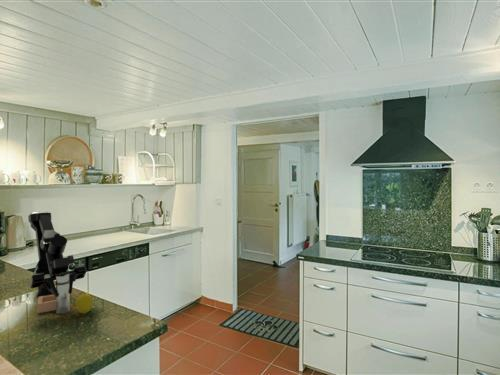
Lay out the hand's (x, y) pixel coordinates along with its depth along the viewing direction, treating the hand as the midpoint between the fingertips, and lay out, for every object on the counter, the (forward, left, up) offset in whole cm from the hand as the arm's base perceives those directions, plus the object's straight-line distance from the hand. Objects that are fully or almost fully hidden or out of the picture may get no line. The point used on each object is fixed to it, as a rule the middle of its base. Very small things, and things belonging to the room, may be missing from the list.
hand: (63, 294), depth 118 cm
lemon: (+6, +7, -7) cm, 11 cm away
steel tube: (-1, 0, -7) cm, 7 cm away
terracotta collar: (-9, -4, -7) cm, 12 cm away
